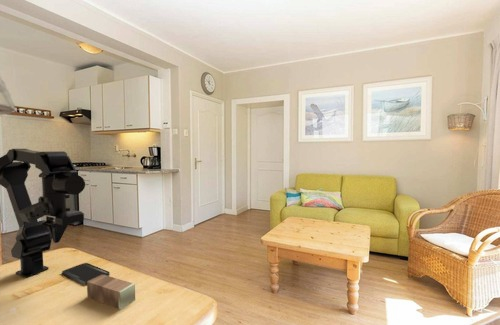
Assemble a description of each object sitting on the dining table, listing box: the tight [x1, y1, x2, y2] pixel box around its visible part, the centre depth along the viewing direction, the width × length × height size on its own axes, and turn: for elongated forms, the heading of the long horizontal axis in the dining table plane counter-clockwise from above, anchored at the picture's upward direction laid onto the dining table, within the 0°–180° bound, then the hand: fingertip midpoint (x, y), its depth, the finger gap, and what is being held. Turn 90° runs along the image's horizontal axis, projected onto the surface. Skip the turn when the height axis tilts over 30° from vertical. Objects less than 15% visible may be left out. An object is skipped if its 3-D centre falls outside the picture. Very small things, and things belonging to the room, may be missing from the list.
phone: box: [61, 262, 111, 286], centre depth 83 cm, size 8×1×15 cm
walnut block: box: [86, 274, 136, 310], centre depth 69 cm, size 4×4×13 cm
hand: (56, 242), depth 78 cm, fingers closed
